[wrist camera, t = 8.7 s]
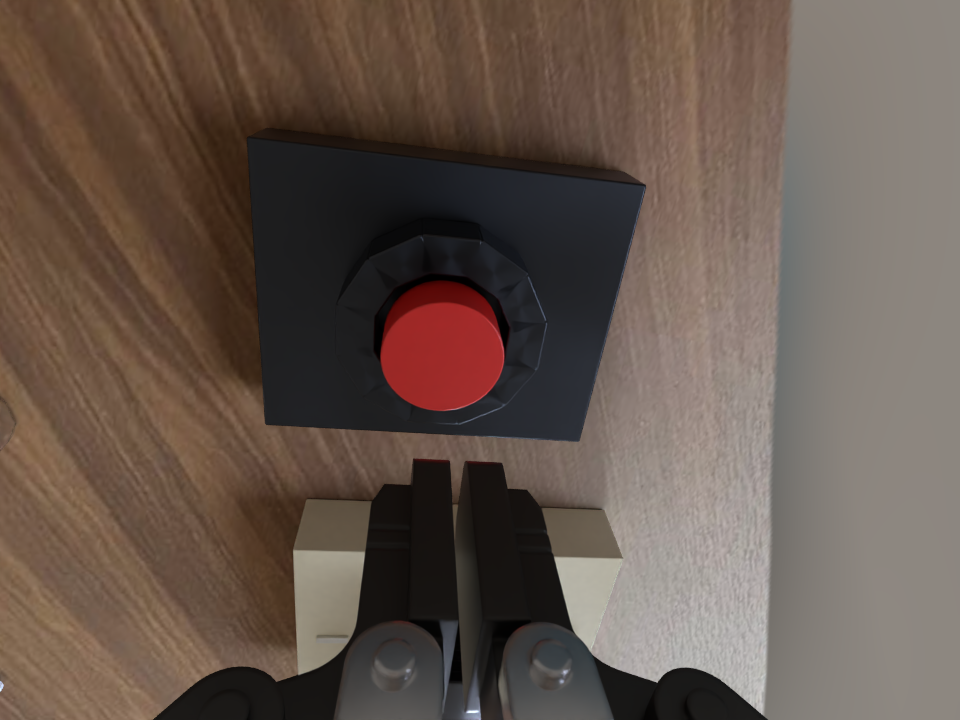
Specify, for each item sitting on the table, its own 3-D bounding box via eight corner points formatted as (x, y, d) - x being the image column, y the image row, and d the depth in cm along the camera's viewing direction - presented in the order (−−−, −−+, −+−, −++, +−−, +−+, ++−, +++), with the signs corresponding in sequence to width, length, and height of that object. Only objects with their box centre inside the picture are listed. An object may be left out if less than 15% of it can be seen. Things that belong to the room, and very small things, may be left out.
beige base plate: (607, 500, 27) (628, 551, 24) (558, 658, 32) (570, 715, 30) (306, 488, 25) (291, 542, 22) (310, 658, 31) (298, 718, 28)
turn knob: (440, 579, 24) (443, 689, 20) (481, 580, 24) (493, 689, 20) (424, 690, 28) (424, 802, 24) (460, 690, 28) (466, 800, 24)
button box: (625, 171, 19) (669, 197, 16) (567, 411, 24) (591, 472, 21) (265, 127, 18) (225, 145, 14) (278, 393, 22) (250, 456, 19)
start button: (505, 285, 17) (513, 308, 16) (489, 385, 19) (495, 414, 17) (386, 274, 17) (383, 296, 15) (381, 377, 18) (377, 407, 17)
